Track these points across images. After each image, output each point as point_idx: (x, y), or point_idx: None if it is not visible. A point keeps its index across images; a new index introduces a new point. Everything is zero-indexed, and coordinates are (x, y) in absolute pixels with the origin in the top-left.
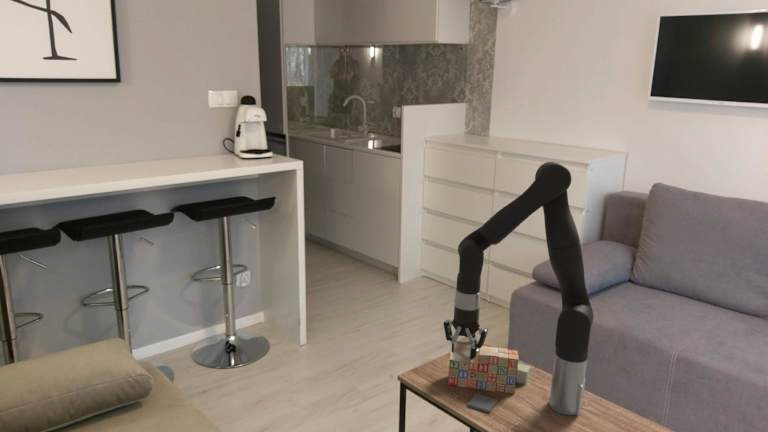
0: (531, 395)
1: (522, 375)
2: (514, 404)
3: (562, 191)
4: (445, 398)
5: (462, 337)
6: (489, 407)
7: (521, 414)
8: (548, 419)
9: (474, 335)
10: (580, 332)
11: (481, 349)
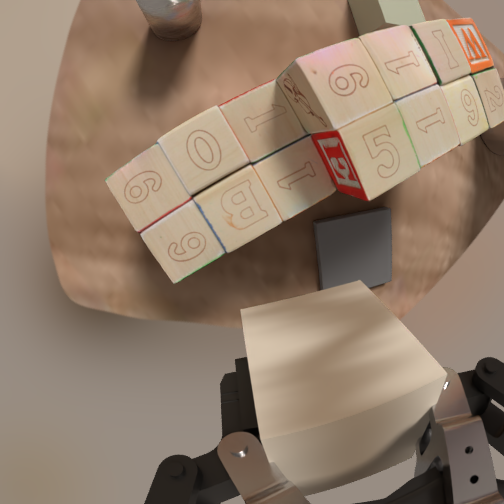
0: None
1: None
2: (425, 181)
3: None
4: (239, 310)
5: (307, 441)
6: (385, 267)
7: (448, 218)
8: (488, 194)
9: (470, 449)
10: None
11: (343, 110)
